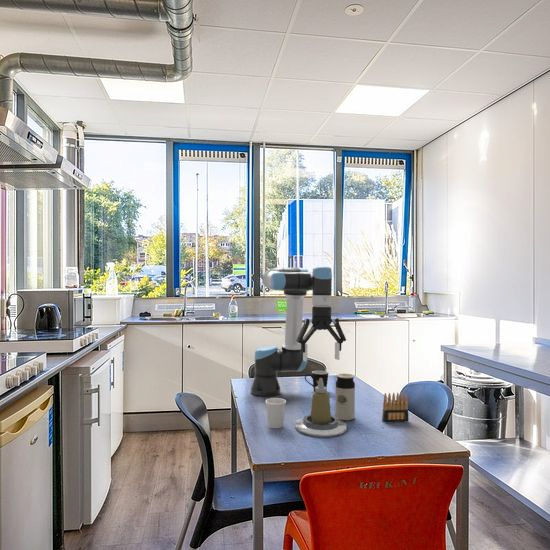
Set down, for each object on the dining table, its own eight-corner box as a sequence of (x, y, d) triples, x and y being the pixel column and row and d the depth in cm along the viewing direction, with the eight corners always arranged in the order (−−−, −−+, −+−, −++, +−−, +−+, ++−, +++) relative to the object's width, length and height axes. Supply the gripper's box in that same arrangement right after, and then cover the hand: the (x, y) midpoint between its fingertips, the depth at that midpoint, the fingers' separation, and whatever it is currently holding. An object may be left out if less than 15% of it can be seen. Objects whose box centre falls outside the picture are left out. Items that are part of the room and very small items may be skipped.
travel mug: (343, 413, 191) (343, 372, 191) (358, 418, 185) (358, 375, 185) (331, 417, 185) (332, 375, 185) (347, 422, 179) (347, 378, 179)
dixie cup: (262, 423, 176) (262, 398, 177) (281, 421, 179) (281, 397, 179) (269, 430, 169) (269, 404, 169) (289, 428, 172) (289, 402, 172)
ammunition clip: (406, 420, 182) (407, 391, 182) (408, 422, 180) (408, 392, 181) (382, 421, 181) (382, 392, 181) (383, 422, 179) (383, 393, 179)
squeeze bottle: (317, 428, 166) (318, 381, 167) (306, 422, 174) (306, 377, 174) (335, 425, 170) (335, 379, 170) (323, 419, 177) (323, 375, 178)
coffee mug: (331, 391, 229) (331, 371, 229) (323, 394, 222) (324, 374, 222) (311, 387, 236) (311, 369, 236) (303, 391, 228) (303, 372, 228)
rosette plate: (288, 422, 178) (288, 413, 178) (333, 418, 184) (333, 409, 184) (306, 439, 159) (306, 429, 159) (355, 434, 165) (355, 425, 165)
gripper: (295, 306, 165) (294, 363, 165) (354, 306, 172) (354, 360, 172) (288, 305, 172) (288, 359, 172) (346, 305, 180) (345, 356, 179)
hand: (321, 360), depth 172 cm, fingers open, 13 cm apart
